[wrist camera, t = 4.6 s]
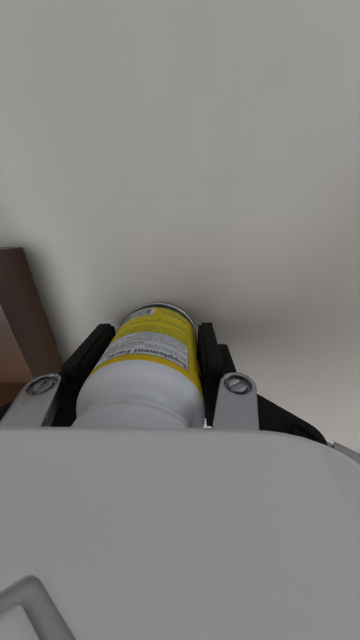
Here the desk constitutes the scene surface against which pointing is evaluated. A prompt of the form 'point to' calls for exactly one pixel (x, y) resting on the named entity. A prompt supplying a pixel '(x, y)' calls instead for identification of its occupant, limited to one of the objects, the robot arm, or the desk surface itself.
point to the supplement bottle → (146, 374)
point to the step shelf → (22, 328)
